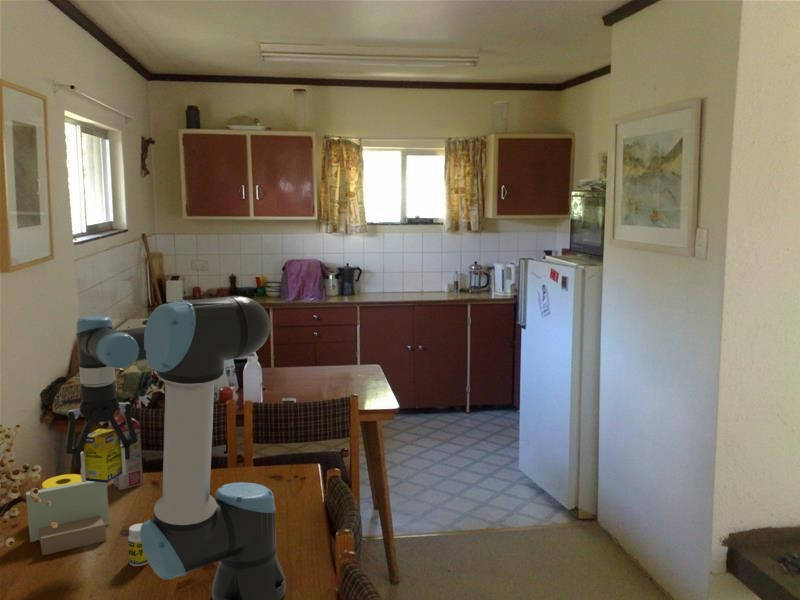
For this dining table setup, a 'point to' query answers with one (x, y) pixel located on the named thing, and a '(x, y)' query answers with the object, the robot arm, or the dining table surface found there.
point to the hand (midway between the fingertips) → (103, 476)
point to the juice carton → (135, 461)
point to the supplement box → (102, 456)
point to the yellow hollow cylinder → (61, 480)
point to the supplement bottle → (136, 546)
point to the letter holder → (69, 516)
